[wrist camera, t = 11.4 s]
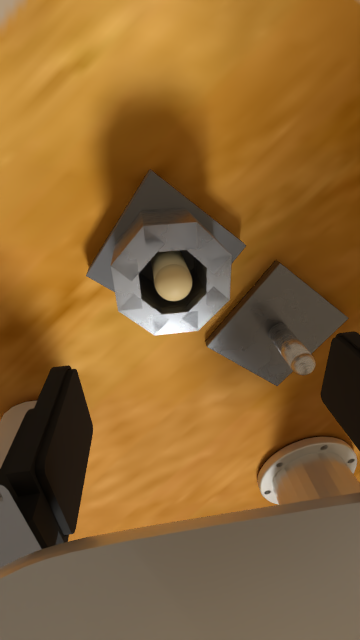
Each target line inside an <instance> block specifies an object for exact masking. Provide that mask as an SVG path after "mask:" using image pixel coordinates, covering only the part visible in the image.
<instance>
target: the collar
mask: <svg viewBox="0 0 360 640" xmlns="http://www.w3.org/2000/svg"><path fill="white" fill-rule="evenodd" d="M177 250H187V251H188V252H190V253H191V254H192V255H193V256H194V268H193V269H192V270H191V271H190V274H191V277H192V287H191V290H190V292H189V294H188V295H187V296H186V297H184V298H183V299H181V300H178V301H169V300H166V299H164V298H162V297H161V296H160V295H159V294H158V292H157V291H156V288H155V284H154V282H152V281H151V280H150V279H148V278H147V277H146V276H145V275H143V274H142V273H141V272H140V271H141V270H142V269H143V268H144V267H145V265H146V264H147V263H148V262H149V261H150V260H151V259H152V257H153V256H154V255H155V254H156V253H157V252H165V251H177ZM231 259H232V255H231V254H230V253H229V252H228V251H227V250H226V249H225V248H224V246H223V245H222V244H221V243H220V242H219V241H218V240H217V239H216V238H215V237H214V235H212V234H211V233H210V232H209V231H208V230H207V229H206V228H205V227H204V226H203V225H202V224H201V223H200V222H199V221H198V220H197V219H196V218H195V217H194V216H193V215H192V214H191V213H190V212H189V211H187V210H186V209H185V208H184V207H183V208H168V209H154V210H141V212H140V213H139V214H138V215H137V217H136V218H135V219H134V220H133V222H132V223H131V224H130V225H129V227H128V228H127V229H126V230H125V232H124V233H123V234H122V235H121V237H120V238H119V239H118V240H117V242H116V243H115V247H114V252H113V257H112V262H111V270H112V276H113V282H114V288H115V294H116V300H117V306H118V311H119V312H121V313H122V314H124V315H125V316H127V317H128V318H130V319H131V320H132V321H134V322H135V323H137V324H138V325H140V326H141V327H143V328H144V329H146V330H147V331H149V332H150V333H152V334H153V335H162V334H172V333H181V332H190V331H198V330H199V329H200V328H201V327H202V326H203V325H204V324H205V323H206V322H208V321H209V320H210V319H211V318H212V317H213V316H214V315H215V314H216V313H217V312H218V311H219V310H220V309H221V308H222V307H223V306H224V305H225V304H226V303H227V302H228V301H229V300H230V281H231Z"/></svg>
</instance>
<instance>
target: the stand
mask: <svg viewBox="0 0 360 640" xmlns="http://www.w3.org/2000/svg"><path fill="white" fill-rule="evenodd" d="M347 319H348V317H346V316H345V315H344V314H343V313H342V312H340V311H339V310H338V309H337V308H335V307H334V306H333V305H332V304H330V303H329V302H328V301H327V300H325V299H324V298H323V297H322V296H320V295H319V294H318V293H317V292H315V291H314V290H313V289H312V288H310V287H309V286H308V285H307V284H305V283H304V282H303V281H302V280H300V279H299V278H298V277H297V276H296V275H294V274H293V273H292V272H291V271H289V270H288V269H287V268H286V267H284V266H283V265H282V264H281V263H279V262H278V261H277V260H276V261H275V262H274V263H273V264H272V265H271V266H270V268H269V269H268V270H267V271H266V272H265V273H264V274H263V276H262V277H261V278H260V279H259V280H258V281H257V283H256V284H255V285H254V286H253V287H252V288H251V289H250V291H249V292H248V293H247V294H246V295H245V296H244V297H243V299H242V300H241V301H240V302H239V303H238V304H237V306H236V307H235V308H234V309H233V310H232V311H231V312H230V314H229V315H228V316H227V317H226V318H225V319H224V321H223V322H222V323H221V324H220V325H219V326H218V327H217V329H216V330H215V331H214V332H213V333H212V334H211V336H210V337H209V338H208V339H207V340H206V341H205V342H206V345H207V347H208V348H210V349H212V350H214V351H215V352H217V353H219V354H221V355H223V356H224V357H226V358H228V359H230V360H232V361H233V362H235V363H237V364H239V365H240V366H242V367H244V368H246V369H248V370H249V371H251V372H253V373H255V374H256V375H258V376H260V377H262V378H264V379H265V380H267V381H269V382H271V383H272V384H274V385H276V386H278V385H279V384H280V383H281V382H282V381H283V380H284V379H285V378H286V377H287V376H288V375H289V374H290V373H292V372H293V371H294V372H295V373H297V374H299V375H308V374H310V373H311V372H312V371H313V370H314V369H315V366H316V362H315V358H314V357H313V355H312V353H313V352H314V351H315V350H316V349H317V348H318V347H319V346H320V345H321V344H322V343H323V342H324V341H325V340H326V339H327V338H328V337H329V336H330V335H332V334H333V333H334V332H335V331H336V330H337V329H338V328H339V327H340V326H341V325H342V324H343V323H344V322H345V321H346V320H347Z"/></svg>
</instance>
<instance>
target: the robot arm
mask: <svg viewBox="0 0 360 640" xmlns="http://www.w3.org/2000/svg"><path fill="white" fill-rule="evenodd" d="M321 398H322V401H323V403H324V404H325V405H326V407H327V408H328V409H329V411H330V412H331V413H332V415H333V416H334V417H335V419H336V420H337V421H338V423H339V424H340V425H341V427H342V428H343V429H344V431H345V432H346V433H347V435H348V436H349V437H350V439H351V440H352V441H353V443H354V444H355V445H356V447H357V448H358V449H359V451H360V335H359V334H358V333H357V332H346V333H339V334H337V335H336V338H333V340H332V342H331V347H330V352H329V356H328V361H327V366H326V371H325V376H324V380H323V385H322V390H321ZM92 434H93V425H92V421H91V418H90V414H89V411H88V407H87V404H86V400H85V397H84V393H83V390H82V386H81V383H80V379H79V376H78V372H77V370H76V369H71V367H70V366H61V367H53V368H52V369H51V370H50V372H49V375H48V377H47V379H46V382H45V384H44V386H43V389H42V391H41V393H40V396H39V398H38V400H37V402H36V405H35V407H34V408H33V409H29V410H28V411H27V412H26V414H25V416H24V418H23V420H22V422H21V425H20V427H19V429H18V431H17V433H16V436H15V438H14V440H13V442H12V444H11V446H10V449H9V451H8V453H7V455H6V457H5V460H4V462H3V464H2V466H1V468H0V640H360V483H359V482H358V480H357V479H356V477H355V476H354V474H353V473H354V471H355V468H356V465H357V457H356V454H355V453H354V451H353V450H352V448H351V447H350V446H349V445H348V444H347V443H346V442H345V441H343V440H341V439H337V438H334V437H313V438H308V439H304V440H301V441H298V442H295V443H292V444H290V445H288V446H286V447H284V448H283V449H281V450H279V451H278V452H276V453H275V454H274V455H273V456H271V457H270V458H269V459H268V460H267V461H266V462H265V463H264V465H263V466H262V468H261V470H260V472H259V474H258V481H257V482H258V486H259V489H260V491H261V494H262V495H263V496H264V498H265V499H267V500H268V501H270V502H272V503H275V504H279V505H276V506H269V507H263V508H257V509H251V510H244V511H238V512H232V513H226V514H219V515H213V516H207V517H201V518H195V519H189V520H183V521H177V522H171V523H165V524H159V525H152V526H146V527H141V528H135V529H130V530H124V531H119V532H113V533H108V534H102V535H97V536H91V537H86V538H82V539H78V540H74V541H69V542H68V537H69V534H73V533H74V532H75V529H76V524H77V518H78V513H79V507H80V502H81V496H82V490H83V485H84V479H85V474H86V468H87V462H88V457H89V451H90V446H91V440H92Z"/></svg>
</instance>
